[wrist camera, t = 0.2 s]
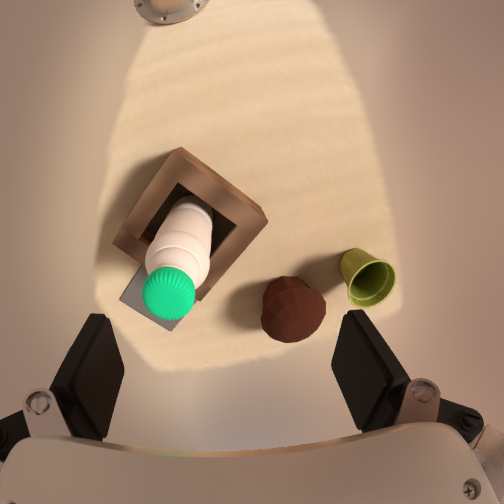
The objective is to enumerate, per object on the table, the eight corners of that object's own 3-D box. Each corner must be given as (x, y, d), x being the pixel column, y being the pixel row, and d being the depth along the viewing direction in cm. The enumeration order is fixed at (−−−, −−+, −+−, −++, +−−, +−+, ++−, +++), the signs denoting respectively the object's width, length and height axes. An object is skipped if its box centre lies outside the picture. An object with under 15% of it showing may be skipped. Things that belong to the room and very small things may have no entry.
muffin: (284, 328, 58) (295, 362, 49) (243, 301, 54) (248, 335, 45) (327, 289, 55) (345, 319, 46) (288, 256, 51) (302, 285, 42)
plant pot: (378, 272, 55) (399, 294, 47) (337, 291, 55) (354, 316, 48) (369, 232, 51) (392, 251, 43) (325, 252, 52) (342, 275, 44)
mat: (120, 299, 51) (119, 300, 51) (149, 253, 48) (149, 254, 48) (171, 330, 55) (171, 331, 55) (205, 290, 52) (205, 291, 52)
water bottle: (204, 241, 48) (194, 342, 26) (165, 228, 47) (121, 319, 24) (219, 203, 46) (219, 280, 23) (178, 188, 44) (135, 253, 21)
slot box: (127, 225, 46) (112, 243, 38) (181, 146, 42) (173, 150, 34) (202, 276, 51) (200, 301, 44) (260, 206, 47) (268, 222, 40)
